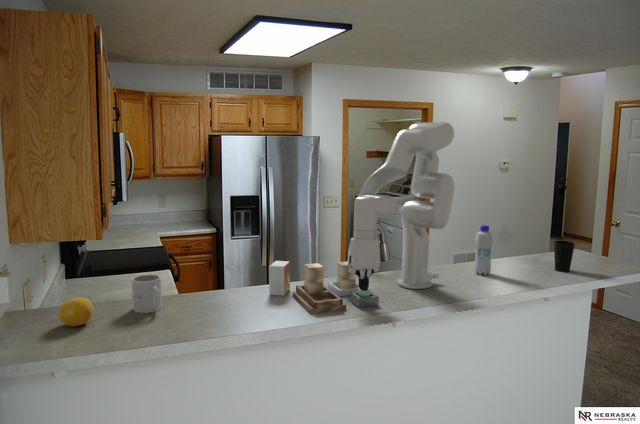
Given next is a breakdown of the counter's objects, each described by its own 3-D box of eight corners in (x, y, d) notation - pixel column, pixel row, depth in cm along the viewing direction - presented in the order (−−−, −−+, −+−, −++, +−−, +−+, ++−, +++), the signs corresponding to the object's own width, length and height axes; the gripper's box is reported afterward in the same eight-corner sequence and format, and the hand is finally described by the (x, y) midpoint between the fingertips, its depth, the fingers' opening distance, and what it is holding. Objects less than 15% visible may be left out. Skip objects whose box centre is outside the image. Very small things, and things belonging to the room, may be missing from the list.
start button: (367, 295, 166) (367, 286, 166) (372, 299, 162) (372, 290, 162) (356, 296, 165) (356, 287, 164) (361, 300, 161) (361, 291, 161)
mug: (130, 307, 159) (129, 276, 158) (158, 302, 164) (156, 273, 162) (139, 318, 149) (137, 286, 148) (168, 313, 154) (167, 282, 152)
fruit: (59, 332, 139) (57, 304, 137) (61, 322, 146) (59, 296, 145) (93, 327, 142) (92, 300, 141) (94, 318, 149) (92, 292, 148)
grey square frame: (352, 285, 184) (352, 279, 184) (364, 293, 175) (365, 287, 174) (328, 287, 181) (328, 282, 181) (339, 296, 171) (339, 290, 171)
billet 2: (349, 287, 181) (350, 261, 180) (355, 291, 176) (355, 264, 175) (337, 289, 179) (337, 262, 178) (342, 293, 175) (342, 265, 173)
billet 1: (318, 291, 172) (318, 263, 170) (323, 295, 167) (323, 266, 166) (304, 292, 170) (304, 264, 169) (309, 297, 165) (309, 267, 164)
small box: (284, 296, 171) (284, 266, 169) (268, 295, 172) (268, 265, 171) (290, 289, 179) (290, 261, 177) (275, 288, 180) (275, 260, 178)
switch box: (369, 298, 168) (369, 290, 168) (378, 305, 162) (378, 296, 161) (350, 301, 166) (350, 292, 166) (359, 307, 159) (359, 298, 159)
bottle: (476, 270, 205) (479, 223, 202) (493, 273, 202) (495, 224, 199) (471, 274, 200) (473, 225, 197) (487, 276, 196) (490, 227, 193)
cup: (576, 273, 203) (578, 244, 201) (557, 272, 203) (559, 244, 201) (567, 268, 210) (569, 240, 208) (548, 268, 210) (550, 240, 208)
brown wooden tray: (324, 292, 176) (324, 282, 175) (346, 309, 158) (346, 298, 157) (292, 295, 171) (292, 286, 171) (310, 313, 154) (310, 303, 153)
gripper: (380, 231, 167) (378, 284, 169) (339, 233, 161) (338, 288, 164) (391, 235, 160) (389, 290, 162) (348, 237, 154) (347, 294, 157)
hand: (363, 289), depth 163 cm, fingers closed
